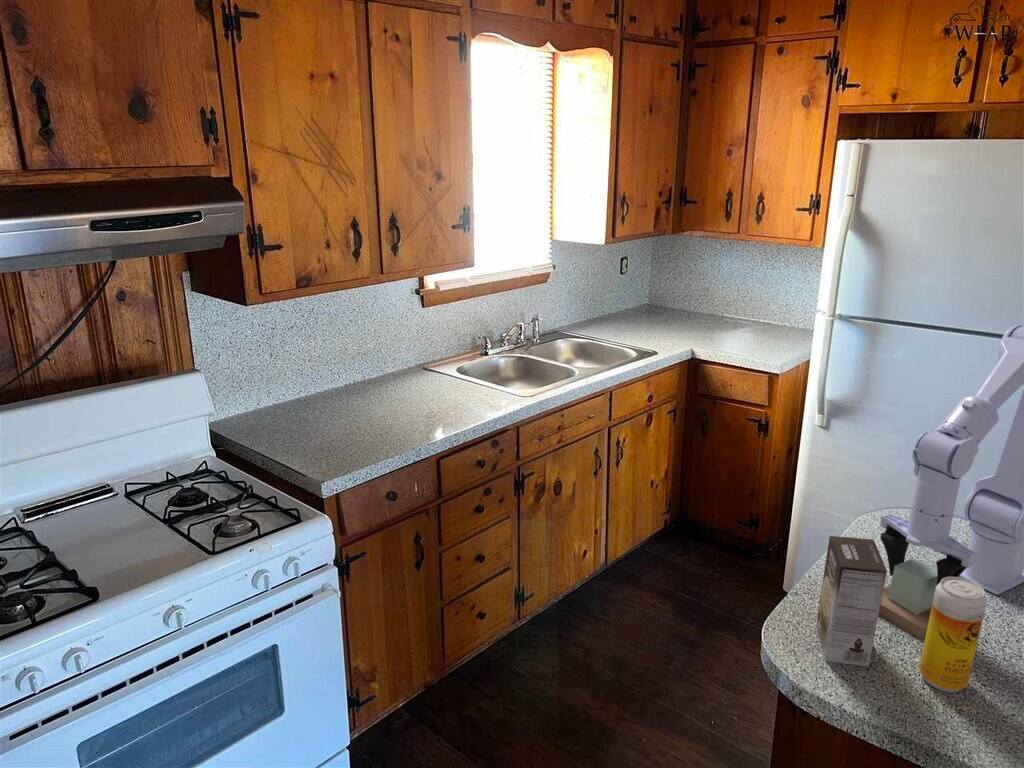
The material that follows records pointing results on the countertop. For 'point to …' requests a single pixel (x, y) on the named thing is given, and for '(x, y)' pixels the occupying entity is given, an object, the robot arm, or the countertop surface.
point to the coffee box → (850, 600)
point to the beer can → (952, 633)
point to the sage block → (913, 585)
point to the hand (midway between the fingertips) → (917, 585)
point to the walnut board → (904, 616)
